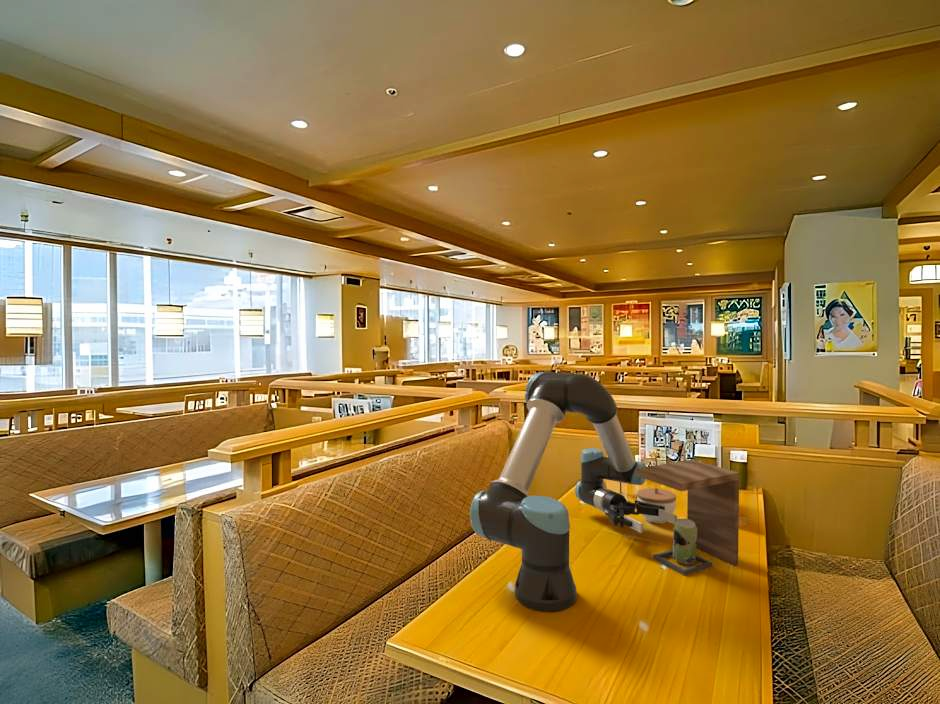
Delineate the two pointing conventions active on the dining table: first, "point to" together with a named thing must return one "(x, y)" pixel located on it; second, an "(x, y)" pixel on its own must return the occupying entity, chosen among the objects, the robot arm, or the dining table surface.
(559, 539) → the robot arm
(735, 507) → the walnut shelf
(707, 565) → the grey square frame
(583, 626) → the dining table surface
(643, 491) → the lidded bowl
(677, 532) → the beverage can
